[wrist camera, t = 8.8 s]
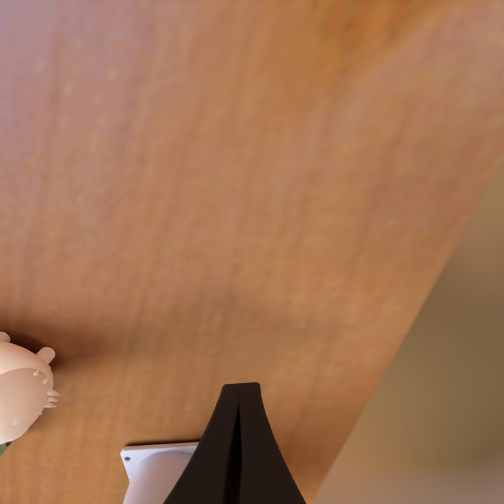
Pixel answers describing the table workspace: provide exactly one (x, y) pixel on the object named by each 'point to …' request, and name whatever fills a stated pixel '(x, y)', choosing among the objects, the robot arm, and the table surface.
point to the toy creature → (23, 387)
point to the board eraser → (4, 447)
